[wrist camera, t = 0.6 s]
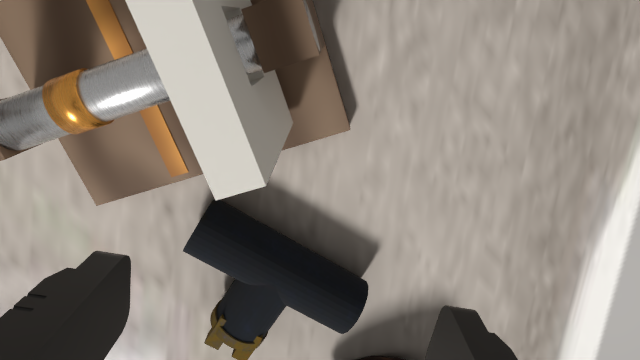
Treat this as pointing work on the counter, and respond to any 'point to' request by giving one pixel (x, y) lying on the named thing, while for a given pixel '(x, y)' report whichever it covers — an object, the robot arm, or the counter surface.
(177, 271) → the counter surface
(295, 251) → the pipe connector
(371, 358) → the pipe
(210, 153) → the white flat block
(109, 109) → the steel pipe
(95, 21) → the pipe stand
